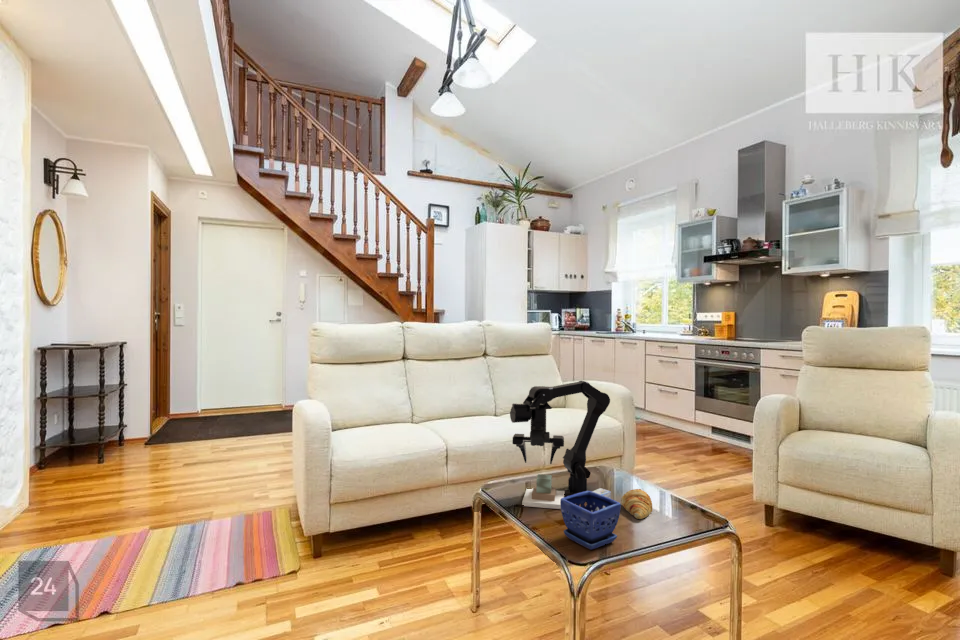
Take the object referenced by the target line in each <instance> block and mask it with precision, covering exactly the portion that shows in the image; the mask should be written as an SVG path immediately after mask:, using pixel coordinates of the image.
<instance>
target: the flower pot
mask: <svg viewBox="0 0 960 640" xmlns="http://www.w3.org/2000/svg"><path fill="white" fill-rule="evenodd" d="M592 491H593V490H587V491H584V492H581V493H577V494H571V495H567V496H564V498H561V500H560V503H561V509H560V511H561V516H562V519H563V522H564V524H565V526H566V528H567V529H564V530H563V534H564V535H565V536H566V537H567V538H568V539H569V540H571V541H573V542H575V543H577V544H579V545H581V546H583V547H584V548H586V549H588V550H594V549H597V548H600V547H603V546H606V545H607V544H610V543H612V542H614V541H615V540H617V538H618V535H617V534H616V533H613V532H614V531H615V529H616V527H617V525H618V521H619V518H620V513H621V509H622V508H621V507H622V506H621V505H622V503H620V501H617V500H615V499H612V498H611V499H610V498H608V497H605V496H603V495H600V494H597V493H595V492H592ZM594 503H595V504H594ZM585 504H586V505H585ZM603 506H605V508H603ZM597 507H598V508H599V510H598V511H596V508H597ZM591 510H592V511H593V512H591ZM605 544H606V545H605Z"/></svg>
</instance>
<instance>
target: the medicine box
mask: <svg viewBox="0 0 960 640" xmlns="http://www.w3.org/2000/svg"><path fill="white" fill-rule="evenodd" d="M591 491H592V492H595V493H597V494H600V495H603V496H605V497H608V498H610V499H612V491H610V490H608V489H605V488H601V487H599V488H597V489H595V490H591ZM594 504H595V503H594ZM603 508H605V506H603ZM598 510H599V508H598V507H597V508H596V511H598ZM591 512H593V511H592V510H591Z"/></svg>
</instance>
